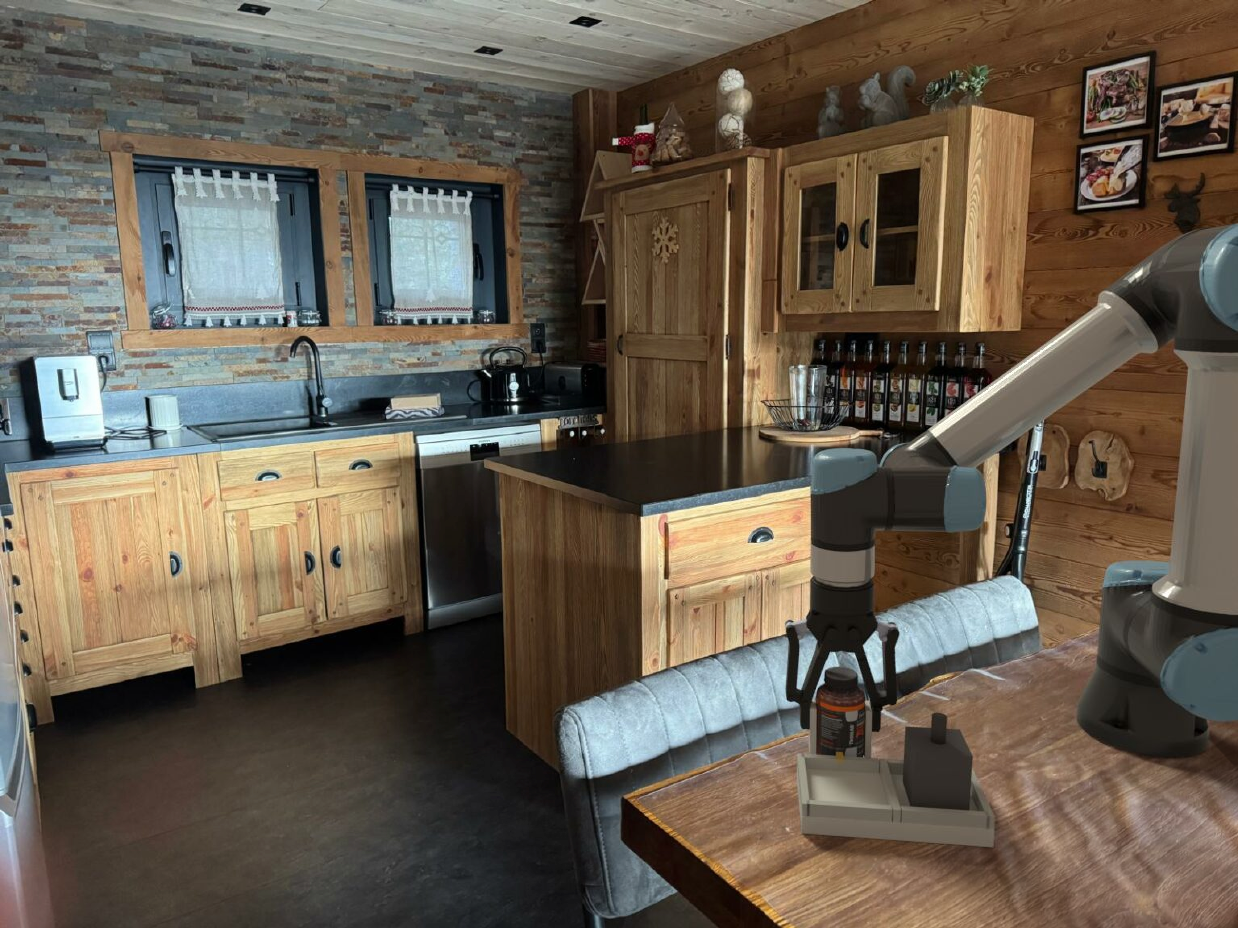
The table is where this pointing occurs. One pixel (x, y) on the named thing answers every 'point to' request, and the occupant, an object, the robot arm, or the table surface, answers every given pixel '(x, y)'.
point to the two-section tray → (896, 809)
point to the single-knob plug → (937, 766)
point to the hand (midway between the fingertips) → (839, 752)
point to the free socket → (839, 808)
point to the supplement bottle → (840, 714)
